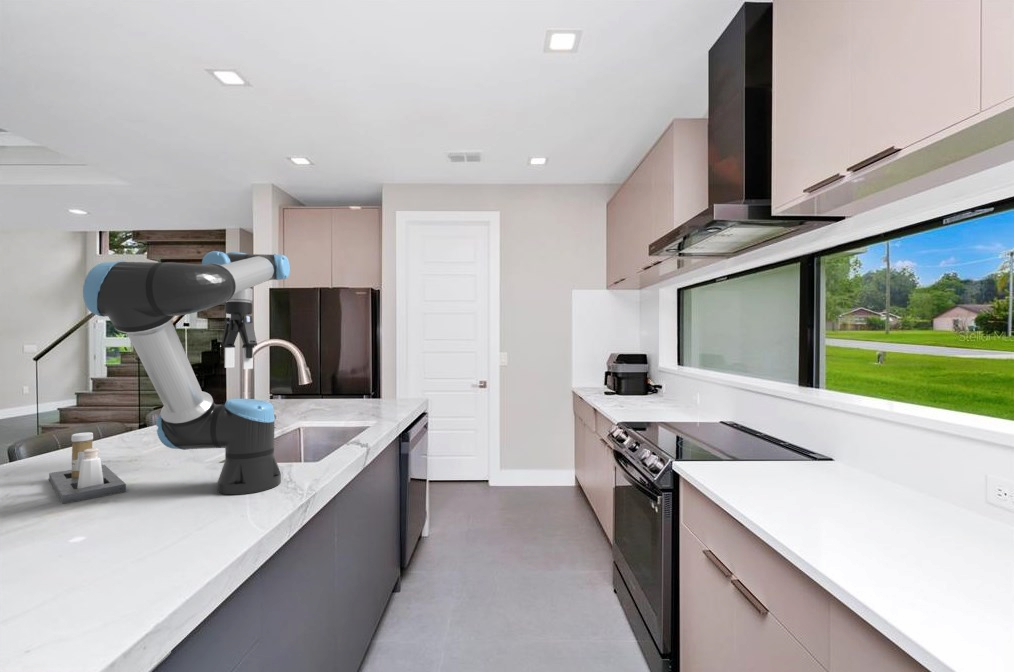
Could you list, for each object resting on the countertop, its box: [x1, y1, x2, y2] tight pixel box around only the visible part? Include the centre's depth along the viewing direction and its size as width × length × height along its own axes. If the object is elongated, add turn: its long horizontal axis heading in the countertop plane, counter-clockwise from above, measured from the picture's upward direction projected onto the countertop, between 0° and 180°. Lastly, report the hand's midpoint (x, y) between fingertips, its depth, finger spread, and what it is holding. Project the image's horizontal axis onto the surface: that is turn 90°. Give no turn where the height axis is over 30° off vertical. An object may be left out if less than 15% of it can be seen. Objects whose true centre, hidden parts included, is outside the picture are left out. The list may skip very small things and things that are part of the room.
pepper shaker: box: [77, 447, 104, 489], centre depth 121 cm, size 5×5×11 cm
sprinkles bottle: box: [70, 431, 94, 478], centre depth 130 cm, size 5×5×14 cm
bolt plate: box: [48, 464, 127, 505], centre depth 125 cm, size 30×12×2 cm, turn 49°
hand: (238, 368), depth 146 cm, fingers open, 13 cm apart
